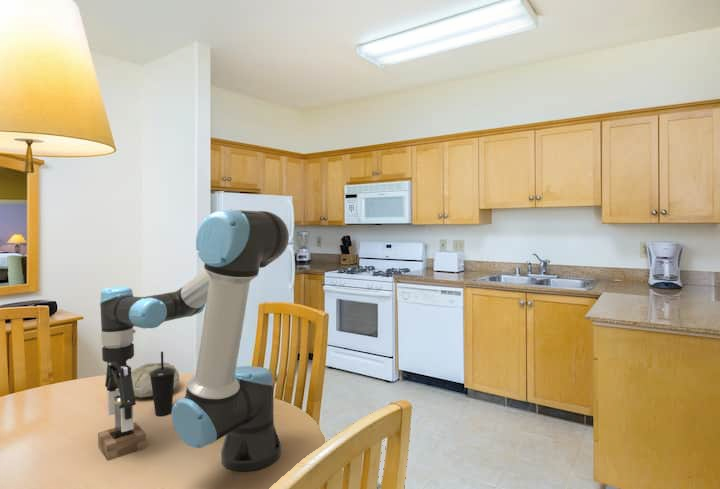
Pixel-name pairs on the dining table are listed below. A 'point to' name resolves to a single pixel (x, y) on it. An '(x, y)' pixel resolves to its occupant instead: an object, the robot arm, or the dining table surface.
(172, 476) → the dining table surface
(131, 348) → the robot arm
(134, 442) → the square wooden frame
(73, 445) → the dining table surface
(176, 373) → the grey rounded lump
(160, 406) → the drinking cup
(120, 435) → the metal cylinder
